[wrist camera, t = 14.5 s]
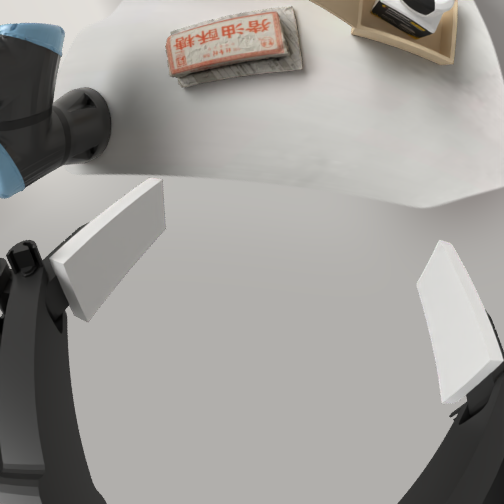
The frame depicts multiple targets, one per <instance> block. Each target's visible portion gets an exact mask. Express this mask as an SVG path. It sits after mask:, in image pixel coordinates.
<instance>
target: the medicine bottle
mask: <svg viewBox="0 0 504 504" xmlns="http://www.w3.org/2000/svg"><path fill="white" fill-rule="evenodd" d="M454 2H455V0H376V1H375V3H374V5H373V7H372V9H371V11H370V12H371V14H372V15H374V16H376V17H378V18H380V19H382V20H384V21H385V22H387V23H389V24H391V25H392V26H394V27H396V28H397V29H399V30H401V31H402V32H404V33H406V34H407V35H409V36H410V37H412V38H413V39H415V40H417V39H420V38H422V37H425V36H428V35H431V34H433V33H435V31H436V29H437V26H438V24H439V22H440V20H441V17H442V15H443V13H444V12H446V11H449V10H450V9H451V8H452V7H453V5H454Z"/></svg>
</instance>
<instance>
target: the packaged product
mask: <svg viewBox="0 0 504 504" xmlns="http://www.w3.org/2000/svg"><path fill="white" fill-rule="evenodd" d="M170 33H171V36H170V37H168V38H167V43H166V46H165V47H166V53H167V57H168V67H169V75H170V76H172V77H176V78H178V84H179V85H180V86H181V87H182V88H184V87H189V86H193V85H196V84H200V83H205V82H211V81H217V80H222V79H227V78H233V77H241V76H248V75H256V74H264V73H274V72H285V71H294V70H300V69H302V57H301V52H300V47H299V36H298V29H297V23H296V18H295V15H294V11H293V8H292V6H291V7H281V8H271V9H265V10H258V11H251V12H245V13H240V14H235V15H229V16H225V17H221V18H218V19H216V20H209V21H205V22H201V23H198V24H195V25H191V26H188V27H184V28H181V29H178V30H175V31H172V32H170Z"/></svg>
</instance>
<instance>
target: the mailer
mask: <svg viewBox="0 0 504 504" xmlns="http://www.w3.org/2000/svg"><path fill="white" fill-rule="evenodd" d="M309 1H311V2H313V3H315V4H317V5H318V6H320V7H322V8H323V9H325V10H327V11H328V12H330V13H332V14H333V15H335V16H336V17H338V18H340V19H341V20H343V21H344V22H346V23H347V24H349V25H350V26H351V27H352V31H351V34H352V35H356V36H360V37H364V38H368V39H371V40H375V41H378V42H381V43H384V44H388V45H391V46H394V47H397V48H399V49H402V50H405V51H408V52H410V53H413V54H415V55H418V56H420V57H423V58H425V59H428V60H430V61H432V62H434V63H437V64H439V65H450V64H453V63H454V55H455V45H456V33H457V7H458V0H455V2H454V5H453V7H452V8H451V9H450V10H449V11H446V12H444V13H443V15H442V17H441V20H440V22H439V24H438V26H437V29H436V31H435V33H433V34H431V35H428V36H425V37H422V38H420V39H417V40H415V39H413V38H412V37H410V36H409V35H407V34H406V33H404V32H402V31H401V30H399V29H397V28H396V27H394V26H392V25H391V24H389V23H387V22H385V21H384V20H382V19H380V18H378V17H376V16H374V15H372V14H371V12H370V11H371V9H372V7H373V5H374V3H375V1H376V0H309Z"/></svg>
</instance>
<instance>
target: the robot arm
mask: <svg viewBox="0 0 504 504" xmlns="http://www.w3.org/2000/svg"><path fill="white" fill-rule="evenodd" d="M64 37H65V33H64V30H63V29H62V28H61V27H59V26H56V25H51V24H42V23H20V24H5V25H0V198H4V199H5V198H9V197H11V196H12V195H14V194H16V193H18V192H20V191H23V190H24V189H25V188H26V187H27V186H28V185H30V184H32V183H33V182H35V181H37V180H38V179H40V178H42V177H43V176H45V175H46V174H48V173H50V172H52V171H53V170H55V169H57V168H59V167H60V166H62V165H69V164H79V163H86V162H88V161H90V160H92V159H94V158H96V157H98V156H99V155H100V154H101V153H102V152H103V151H104V149H105V147H106V145H107V143H108V140H109V136H110V130H111V121H110V114H109V110H108V107H107V105H106V103H105V101H104V99H103V98H102V96H101V95H100V94H99V93H98V92H97V91H95V90H93V89H91V88H86V87H85V88H79V89H74V90H71V91H69V92H68V93H66V94H65V95H63V96H62V97H60V98H59V99H58V100H56V101H55V102H54V103H53V98H54V91H55V85H56V79H57V73H58V68H59V62H60V58H61V57H62V47H63V41H64ZM165 229H166V225H165V213H164V197H163V180H162V179H156V178H148V179H146V180H145V181H144V182H142V183H141V184H139V185H138V186H136V187H135V188H134V189H132V190H131V191H130V192H128V193H127V194H126V195H124V196H123V197H121V198H120V199H119V200H117V201H116V202H115V203H114V204H112V205H111V206H110V207H108V208H107V209H106V210H105V211H103V212H102V213H101V214H100V215H98V216H97V217H96V218H95V219H93V220H92V221H91V222H89V223H87V224H85V225H83V226H81V227H79V228H78V229H77V230H76V231H75V232H74V233H72V235H70V236H69V237H68V238H67V239H66V240H65V241H63V242H62V243H61V244H60V245H59V246H58V247H57V248H55V249H54V250H53V251H52V252H51V253H50V254H49V255H48V256H47V257H46V258H45V259H44V260H43V261H42V259H41V256H40V253H39V251H38V248H37V246H36V243H35V242H34V241H31V240H26V241H22V242H20V243H18V244H16V245H15V246H13V247H12V248H11V249H10V250H9V252H8V253H7V255H6V256H7V259H8V261H9V263H10V265H11V268H12V269H10V268H9V266H8V264H7V262H6V260H5V259H4V258H0V309H1V311H2V312H3V314H2V316H1V317H0V504H106V501H105V500H104V498H103V497H102V495H101V494H100V493H99V492H98V491H97V490H96V488H95V486H94V484H93V482H92V479H91V476H90V472H89V469H88V466H87V462H86V459H85V455H84V451H83V447H82V443H81V438H80V435H79V430H78V424H77V419H76V414H75V408H74V402H73V394H72V387H71V378H70V368H69V356H68V335H67V314H66V312H65V309H66V308H67V307H68V306H70V308H71V310H72V312H73V314H74V315H75V316H76V317H78V318H80V319H82V320H85V321H86V322H89V321H90V320H91V318H92V317H93V316H94V314H95V313H96V311H97V310H98V309H99V308H100V306H101V305H102V304H103V303H104V301H105V300H106V299H107V297H108V296H109V295H110V294H111V292H112V291H113V290H114V289H115V287H116V286H117V285H118V284H119V283H120V281H121V280H122V279H123V278H124V276H125V275H126V274H127V273H128V272H129V270H130V269H131V268H132V267H133V266H134V265H135V263H136V262H137V261H138V260H139V259H140V257H141V256H142V255H143V254H144V253H145V252H146V250H147V249H148V248H149V247H150V246H151V245H152V244H153V243H154V242H155V240H156V239H157V238H158V237H159V236H160V235H161V234H162V233H163V231H164V230H165ZM416 286H417V289H418V292H419V296H420V299H421V303H422V306H423V310H424V314H425V317H426V321H427V325H428V329H429V334H430V338H431V342H432V347H433V352H434V357H435V362H436V367H437V373H438V379H439V386H440V393H441V400H442V403H457V402H458V401H459V400H460V399H461V398H463V397H464V396H465V395H466V396H467V402H466V403H465V404H463V405H462V406H461V407H459V408H458V409H457V410H455V411H454V412H452V413H451V415H450V416H449V417H452V416H454V415H455V414H457V413H458V415H457V417H456V418H455V419H453V420H454V423H453V424H452V426H451V428H450V430H449V431H448V433H447V435H446V437H445V438H444V440H443V442H442V443H441V445H440V447H439V448H438V450H437V451H436V453H435V454H434V456H433V458H432V459H431V461H430V462H429V464H428V465H427V467H426V468H425V469H424V471H423V472H422V474H421V475H420V476H419V478H418V479H417V480H416V482H415V483H414V484H413V485H412V487H411V488H410V489H409V490H408V492H407V493H406V494H405V495H404V497H403V498H402V499H401V500H400V501H399V502H398V504H504V352H503V348H502V346H501V343H500V340H499V338H498V334H497V332H496V330H495V327H494V324H493V321H492V319H491V317H490V316H489V314H488V313H487V311H486V310H485V309H484V306H483V304H482V302H481V300H480V297H479V295H478V293H477V291H476V289H475V287H474V285H473V283H472V281H471V279H470V277H469V275H468V273H467V271H466V269H465V267H464V265H463V263H462V262H461V260H460V258H459V256H458V254H457V252H456V251H455V249H454V247H453V246H452V244H451V243H448V242H445V241H442V240H439V241H438V243H437V246H436V248H435V250H434V252H433V254H432V256H431V258H430V260H429V261H428V263H427V265H426V267H425V269H424V271H423V273H422V275H421V276H420V278H419V280H418V282H417V284H416Z"/></svg>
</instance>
